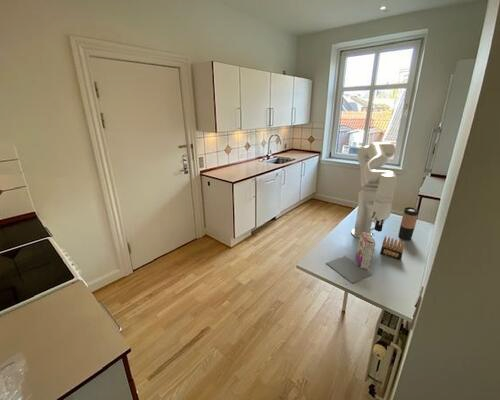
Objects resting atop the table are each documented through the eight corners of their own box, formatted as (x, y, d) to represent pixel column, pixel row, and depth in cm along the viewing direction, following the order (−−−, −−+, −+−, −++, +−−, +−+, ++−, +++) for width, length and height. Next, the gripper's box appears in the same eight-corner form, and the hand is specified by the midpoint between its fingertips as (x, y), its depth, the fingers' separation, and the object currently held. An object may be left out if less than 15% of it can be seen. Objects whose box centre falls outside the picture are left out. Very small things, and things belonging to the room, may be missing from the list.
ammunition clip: (401, 259, 136) (406, 240, 131) (400, 260, 134) (405, 242, 130) (380, 252, 142) (384, 234, 138) (379, 253, 141) (383, 236, 136)
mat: (344, 256, 139) (345, 255, 139) (372, 274, 124) (372, 273, 124) (326, 263, 133) (326, 262, 133) (352, 283, 118) (352, 282, 118)
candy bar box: (354, 256, 138) (360, 231, 132) (364, 258, 137) (370, 232, 131) (359, 268, 128) (365, 241, 122) (369, 270, 127) (376, 242, 121)
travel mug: (398, 239, 155) (405, 211, 147) (397, 233, 161) (403, 206, 154) (412, 241, 152) (420, 213, 145) (410, 235, 159) (417, 208, 151)
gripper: (387, 193, 128) (380, 224, 134) (367, 198, 122) (362, 230, 128) (400, 198, 122) (393, 230, 128) (381, 203, 115) (374, 236, 122)
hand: (377, 230), depth 128 cm, fingers closed
